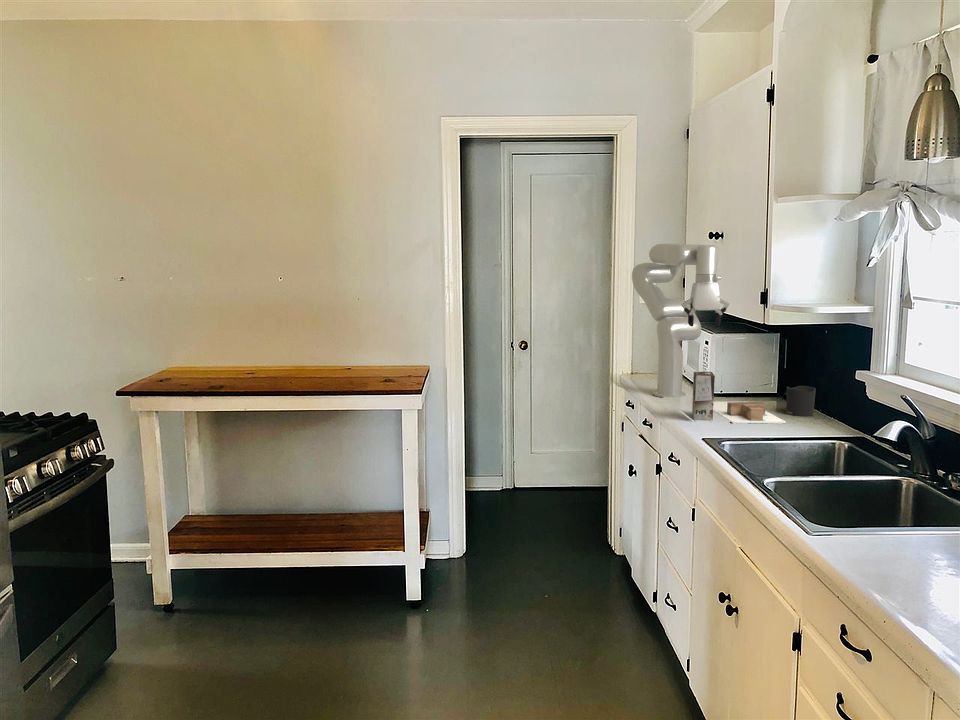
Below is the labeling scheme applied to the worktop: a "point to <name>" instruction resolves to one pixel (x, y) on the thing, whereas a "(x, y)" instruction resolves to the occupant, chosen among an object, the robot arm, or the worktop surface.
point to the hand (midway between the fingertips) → (704, 325)
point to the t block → (747, 410)
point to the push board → (722, 409)
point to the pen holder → (800, 401)
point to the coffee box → (703, 396)
